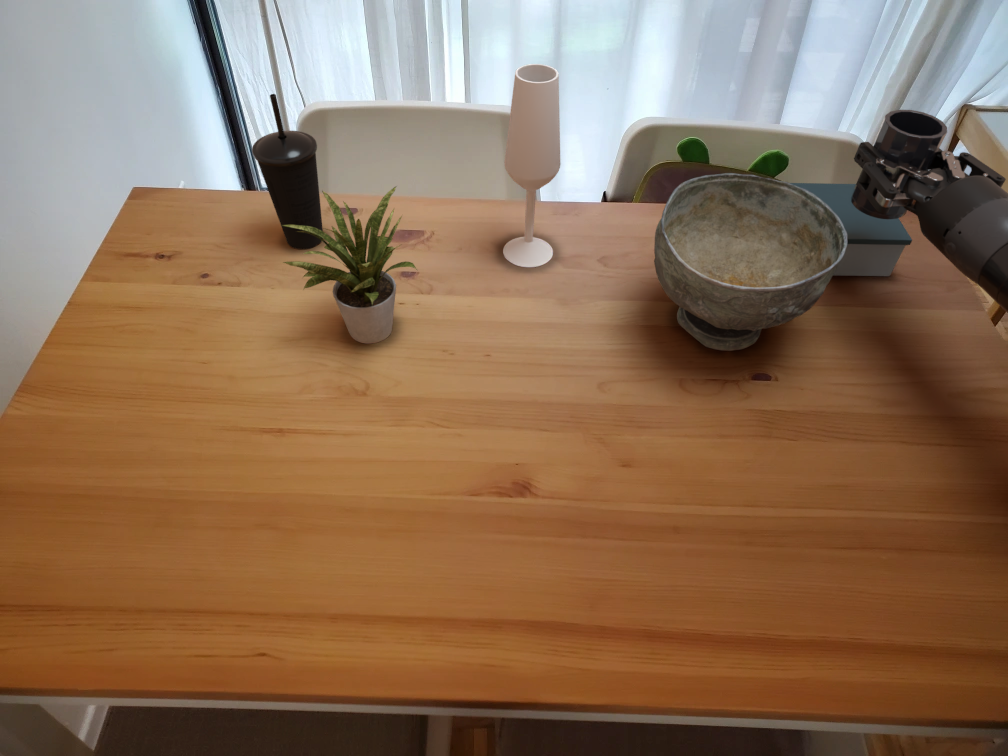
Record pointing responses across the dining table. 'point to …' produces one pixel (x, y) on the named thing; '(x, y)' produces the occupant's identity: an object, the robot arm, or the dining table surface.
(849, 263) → the container
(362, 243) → the house plant
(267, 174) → the drinking cup
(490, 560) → the dining table surface
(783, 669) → the dining table surface
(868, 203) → the cup
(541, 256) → the champagne flute
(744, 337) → the bowl
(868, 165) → the robot arm
